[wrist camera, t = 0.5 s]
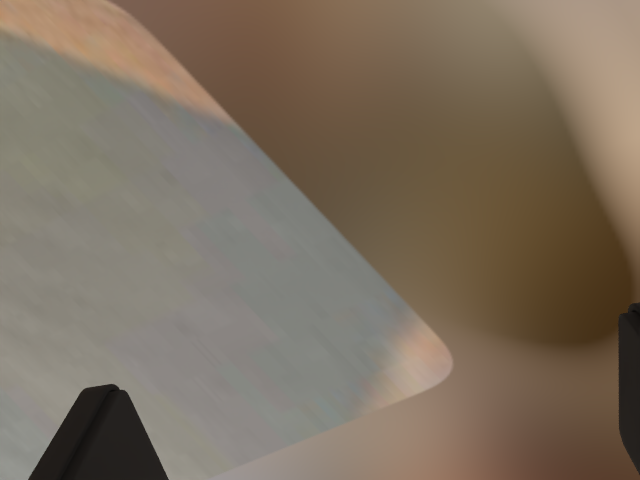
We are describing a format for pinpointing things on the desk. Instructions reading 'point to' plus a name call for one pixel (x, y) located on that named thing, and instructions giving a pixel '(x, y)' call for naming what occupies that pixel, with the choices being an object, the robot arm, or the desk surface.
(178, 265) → the desk surface
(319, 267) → the desk surface
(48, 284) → the desk surface
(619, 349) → the robot arm
